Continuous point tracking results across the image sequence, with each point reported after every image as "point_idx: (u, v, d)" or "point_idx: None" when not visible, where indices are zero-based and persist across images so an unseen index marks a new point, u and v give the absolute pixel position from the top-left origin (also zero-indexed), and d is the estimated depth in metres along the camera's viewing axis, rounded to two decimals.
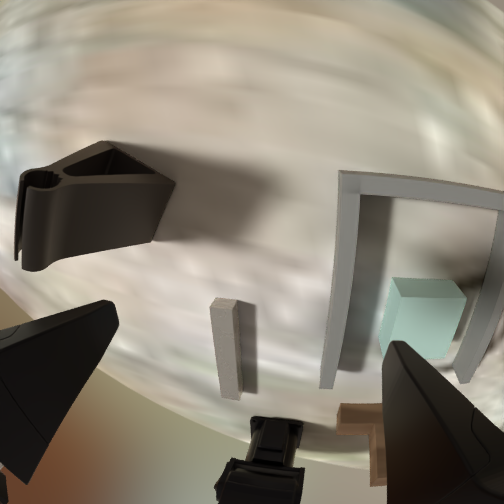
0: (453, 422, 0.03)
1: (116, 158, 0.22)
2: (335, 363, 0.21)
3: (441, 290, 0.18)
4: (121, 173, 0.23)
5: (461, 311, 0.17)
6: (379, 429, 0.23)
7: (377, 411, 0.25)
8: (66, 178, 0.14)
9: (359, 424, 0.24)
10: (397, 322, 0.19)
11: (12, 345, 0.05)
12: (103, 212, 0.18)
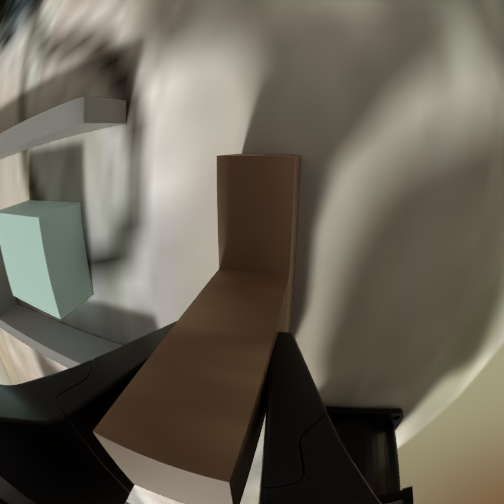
0: (282, 423, 0.04)
1: None
2: None
3: None
4: None
5: (1, 215, 0.12)
6: None
7: None
8: None
9: None
10: (26, 299, 0.14)
11: (97, 394, 0.04)
12: None
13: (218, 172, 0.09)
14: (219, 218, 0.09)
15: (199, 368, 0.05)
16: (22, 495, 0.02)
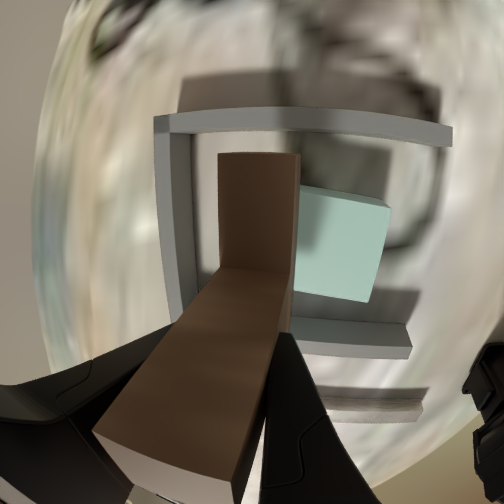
0: (282, 423, 0.04)
1: None
2: (370, 348, 0.18)
3: None
4: None
5: (307, 195, 0.15)
6: None
7: None
8: None
9: None
10: (310, 289, 0.17)
11: (97, 394, 0.04)
12: None
13: (219, 170, 0.09)
14: (219, 216, 0.09)
15: (199, 366, 0.05)
16: (22, 495, 0.02)
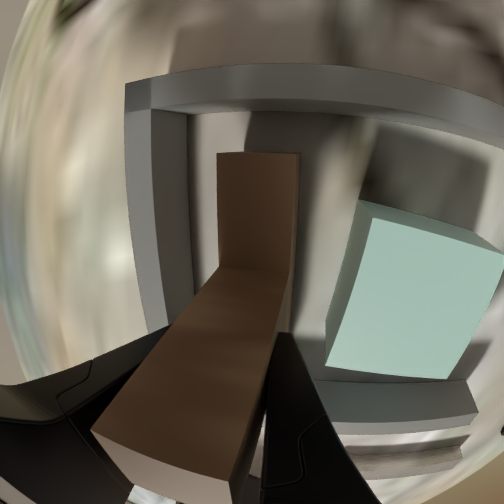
0: (281, 423, 0.04)
1: None
2: (433, 421, 0.11)
3: (352, 262, 0.10)
4: None
5: (405, 230, 0.08)
6: None
7: None
8: None
9: None
10: (378, 368, 0.10)
11: (97, 394, 0.04)
12: None
13: (218, 169, 0.09)
14: (218, 215, 0.09)
15: (198, 365, 0.05)
16: (22, 495, 0.02)
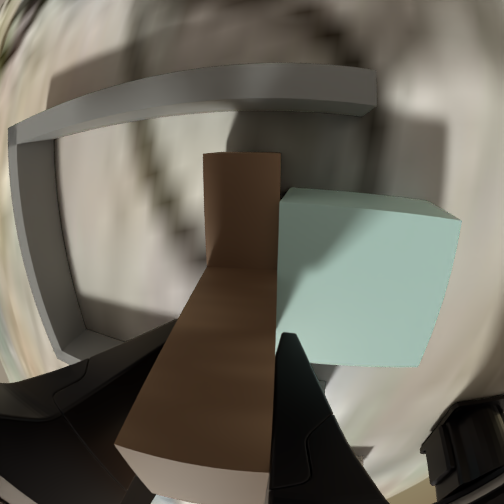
0: (288, 424, 0.04)
1: None
2: None
3: None
4: None
5: (318, 209, 0.08)
6: None
7: None
8: None
9: None
10: (330, 359, 0.10)
11: (93, 392, 0.04)
12: None
13: (204, 170, 0.09)
14: (205, 216, 0.09)
15: (210, 365, 0.05)
16: (18, 492, 0.02)
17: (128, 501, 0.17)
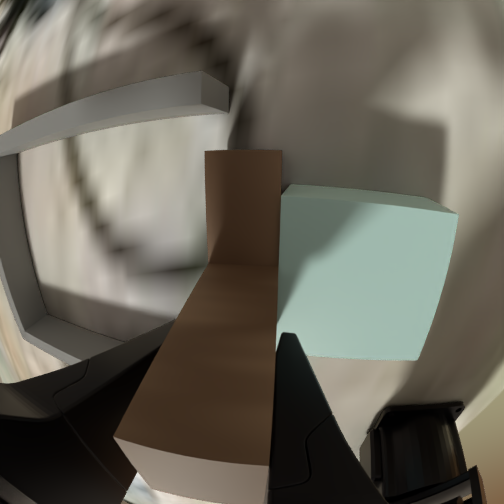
0: (287, 424, 0.04)
1: None
2: None
3: None
4: None
5: (319, 202, 0.08)
6: None
7: None
8: None
9: None
10: (331, 352, 0.10)
11: (93, 392, 0.04)
12: None
13: (206, 167, 0.09)
14: (207, 212, 0.09)
15: (210, 359, 0.05)
16: (19, 492, 0.02)
17: None
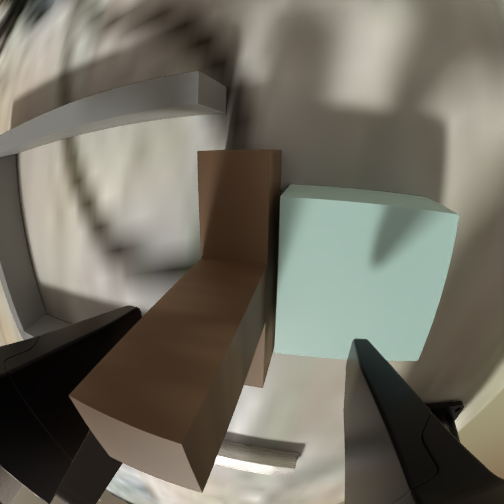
0: (401, 427, 0.04)
1: None
2: None
3: None
4: None
5: (318, 203, 0.08)
6: None
7: None
8: None
9: None
10: (331, 353, 0.10)
11: (34, 360, 0.05)
12: (82, 464, 0.20)
13: (199, 166, 0.09)
14: (200, 210, 0.10)
15: (169, 343, 0.06)
16: None
17: (89, 480, 0.19)
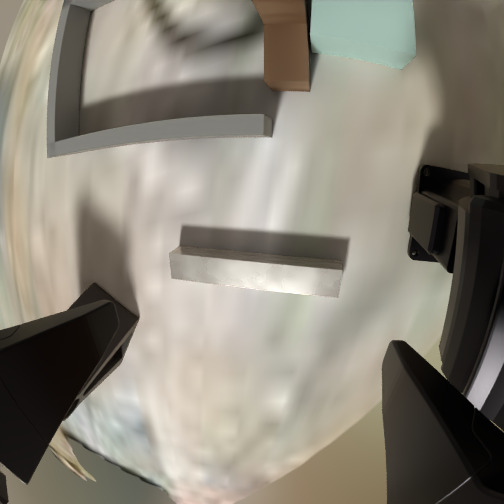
0: (453, 422, 0.03)
1: None
2: (206, 119, 0.15)
3: None
4: None
5: None
6: None
7: None
8: None
9: (269, 47, 0.13)
10: (350, 36, 0.11)
11: (12, 345, 0.05)
12: None
13: None
14: None
15: None
16: None
17: None
